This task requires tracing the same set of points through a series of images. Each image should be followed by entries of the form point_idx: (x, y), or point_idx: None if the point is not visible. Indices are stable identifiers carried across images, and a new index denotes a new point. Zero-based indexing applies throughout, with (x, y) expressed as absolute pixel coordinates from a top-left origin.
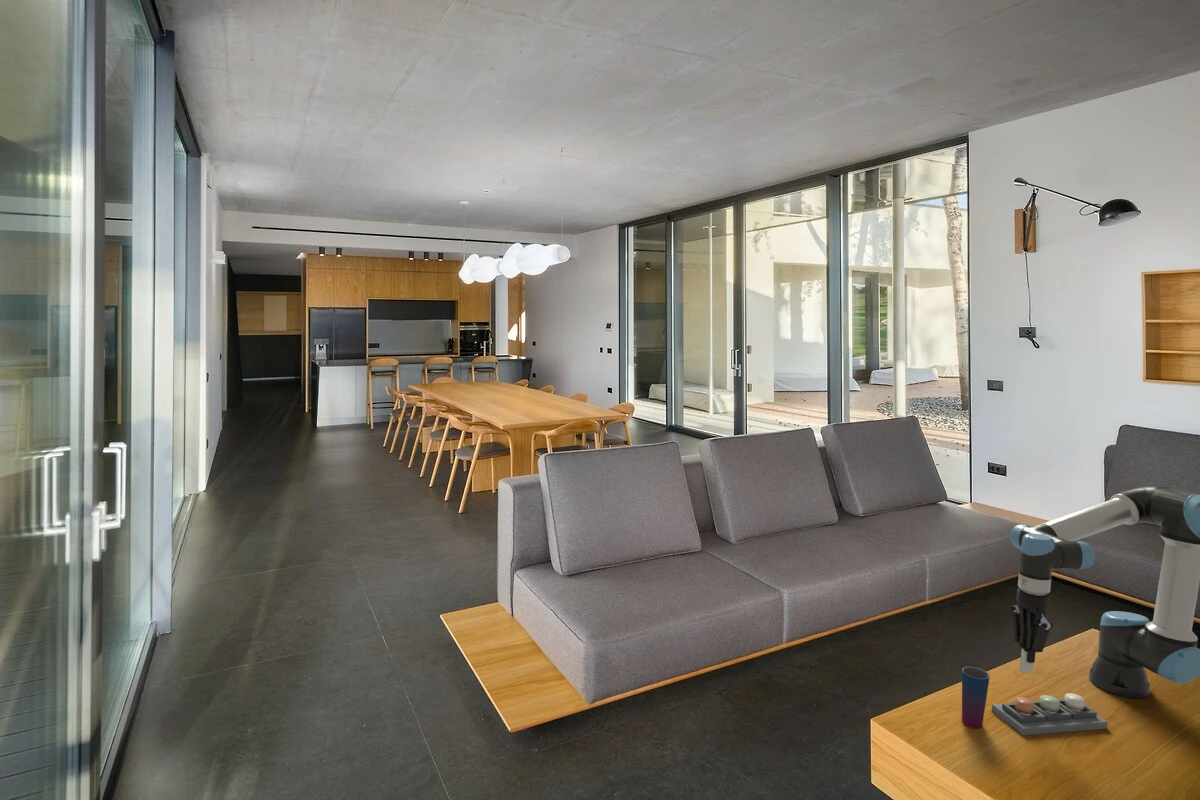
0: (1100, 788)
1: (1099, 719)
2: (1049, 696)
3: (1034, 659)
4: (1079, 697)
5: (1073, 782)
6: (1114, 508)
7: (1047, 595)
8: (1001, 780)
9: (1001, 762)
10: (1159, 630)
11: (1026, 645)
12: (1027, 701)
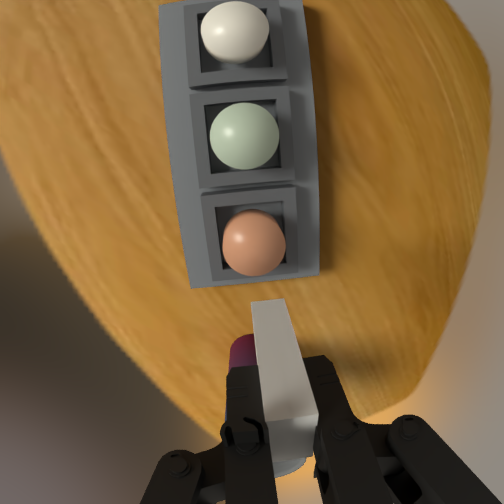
0: (474, 226)
1: (287, 5)
2: (220, 120)
3: (337, 376)
4: (234, 11)
5: (453, 263)
6: None
7: None
8: (410, 369)
9: (380, 354)
10: None
11: (320, 490)
12: (254, 236)
